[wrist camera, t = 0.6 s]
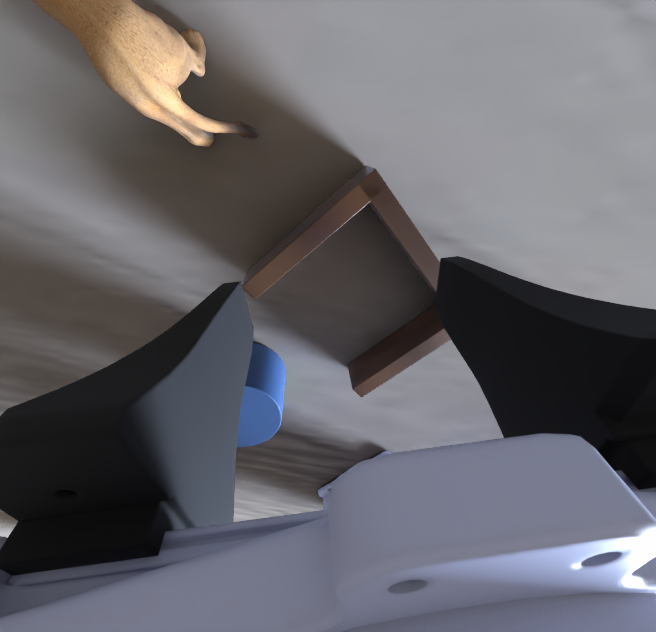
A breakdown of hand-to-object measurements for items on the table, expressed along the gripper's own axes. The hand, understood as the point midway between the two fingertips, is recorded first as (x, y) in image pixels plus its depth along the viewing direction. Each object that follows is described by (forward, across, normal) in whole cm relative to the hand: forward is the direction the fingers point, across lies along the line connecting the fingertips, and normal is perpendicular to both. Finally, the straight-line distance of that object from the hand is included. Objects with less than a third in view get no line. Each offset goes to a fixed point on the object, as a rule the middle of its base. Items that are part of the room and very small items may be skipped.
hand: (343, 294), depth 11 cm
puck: (+9, +7, +12) cm, 17 cm away
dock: (+10, -2, +6) cm, 12 cm away
